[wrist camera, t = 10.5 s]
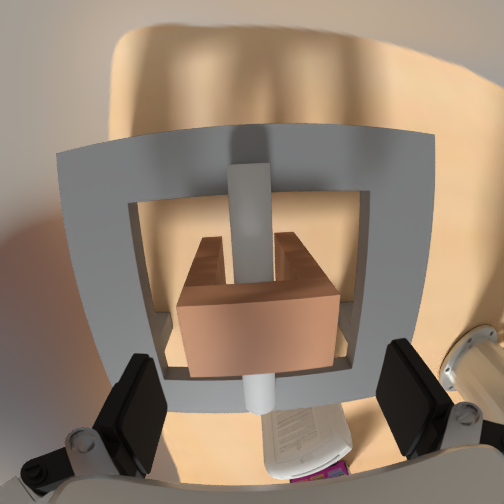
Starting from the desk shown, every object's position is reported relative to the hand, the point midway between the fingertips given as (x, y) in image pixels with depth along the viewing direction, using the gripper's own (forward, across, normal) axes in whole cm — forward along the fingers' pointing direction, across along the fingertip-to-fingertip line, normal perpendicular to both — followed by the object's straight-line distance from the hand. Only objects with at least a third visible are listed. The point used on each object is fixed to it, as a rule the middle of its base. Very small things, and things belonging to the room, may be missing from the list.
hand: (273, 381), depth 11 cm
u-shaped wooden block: (+13, +1, 0) cm, 13 cm away
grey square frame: (+19, +1, 0) cm, 19 cm away
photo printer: (+20, -4, +20) cm, 29 cm away
